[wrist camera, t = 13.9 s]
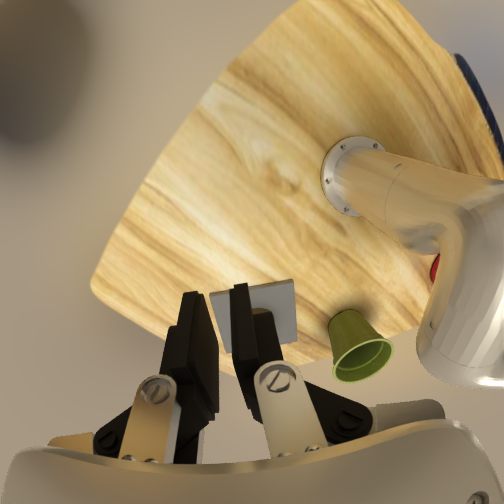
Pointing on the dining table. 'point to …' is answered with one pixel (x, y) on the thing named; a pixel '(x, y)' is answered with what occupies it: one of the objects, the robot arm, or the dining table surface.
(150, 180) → the dining table surface
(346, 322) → the plant pot
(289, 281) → the tile
